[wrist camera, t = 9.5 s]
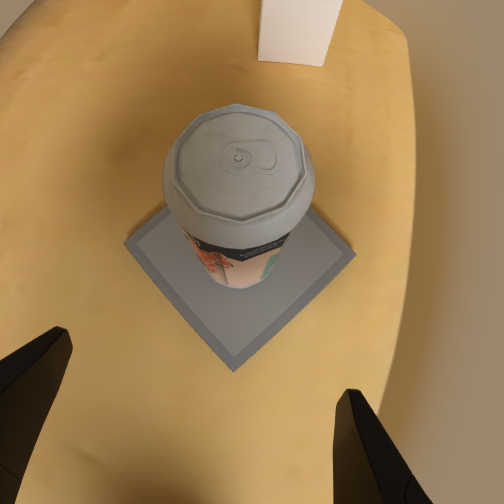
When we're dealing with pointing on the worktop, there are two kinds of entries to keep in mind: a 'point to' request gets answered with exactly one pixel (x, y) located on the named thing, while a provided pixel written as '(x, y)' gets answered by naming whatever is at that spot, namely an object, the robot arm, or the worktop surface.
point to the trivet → (245, 299)
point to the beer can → (238, 190)
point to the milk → (296, 30)
